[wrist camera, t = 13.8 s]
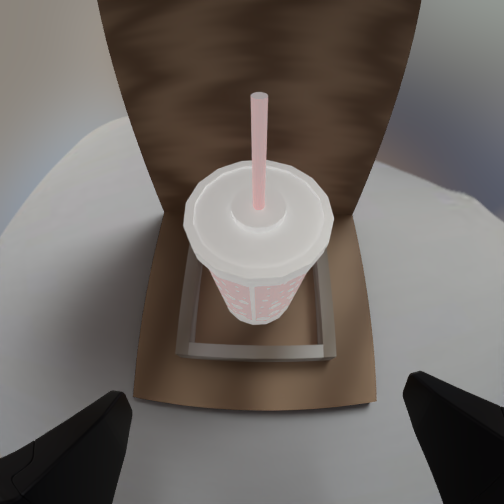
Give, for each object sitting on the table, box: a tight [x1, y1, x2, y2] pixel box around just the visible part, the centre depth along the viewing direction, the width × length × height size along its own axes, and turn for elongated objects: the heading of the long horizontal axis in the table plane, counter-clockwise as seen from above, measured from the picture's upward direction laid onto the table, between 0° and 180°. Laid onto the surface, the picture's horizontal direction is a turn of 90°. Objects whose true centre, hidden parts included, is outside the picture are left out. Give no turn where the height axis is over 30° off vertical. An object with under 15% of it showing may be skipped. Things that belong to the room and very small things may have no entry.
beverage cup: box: [183, 92, 334, 325], centre depth 13 cm, size 6×6×14 cm
